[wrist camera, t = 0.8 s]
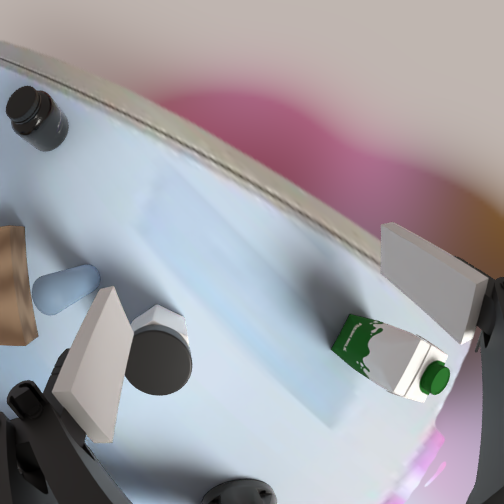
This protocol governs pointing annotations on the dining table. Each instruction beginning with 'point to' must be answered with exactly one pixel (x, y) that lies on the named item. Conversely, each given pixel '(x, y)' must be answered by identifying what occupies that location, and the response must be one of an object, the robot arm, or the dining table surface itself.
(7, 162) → the dining table surface
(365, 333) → the milk carton
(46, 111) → the supplement bottle
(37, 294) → the dowel
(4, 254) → the socket block
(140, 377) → the jar
